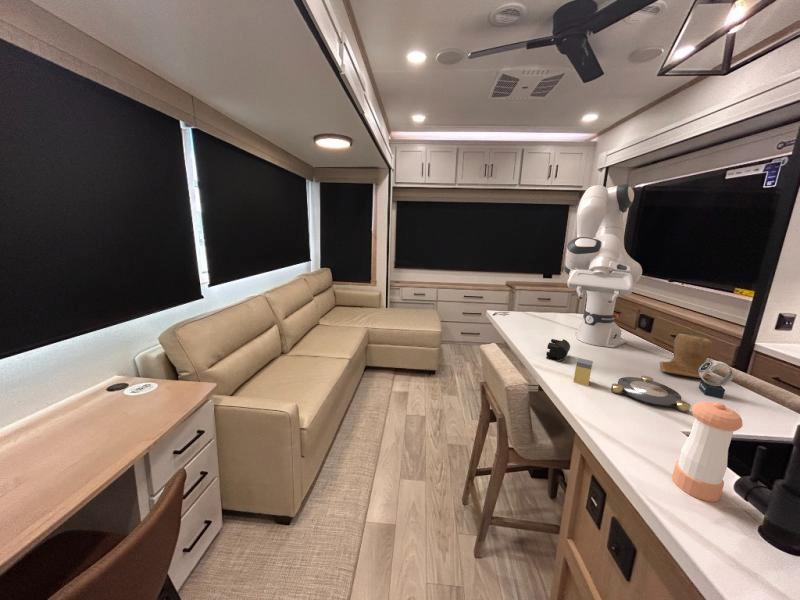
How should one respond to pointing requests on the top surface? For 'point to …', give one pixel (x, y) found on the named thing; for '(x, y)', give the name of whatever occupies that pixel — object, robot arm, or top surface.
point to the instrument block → (583, 371)
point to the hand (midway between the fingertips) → (595, 300)
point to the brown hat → (688, 356)
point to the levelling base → (650, 392)
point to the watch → (713, 387)
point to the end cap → (557, 350)
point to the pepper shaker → (706, 451)
